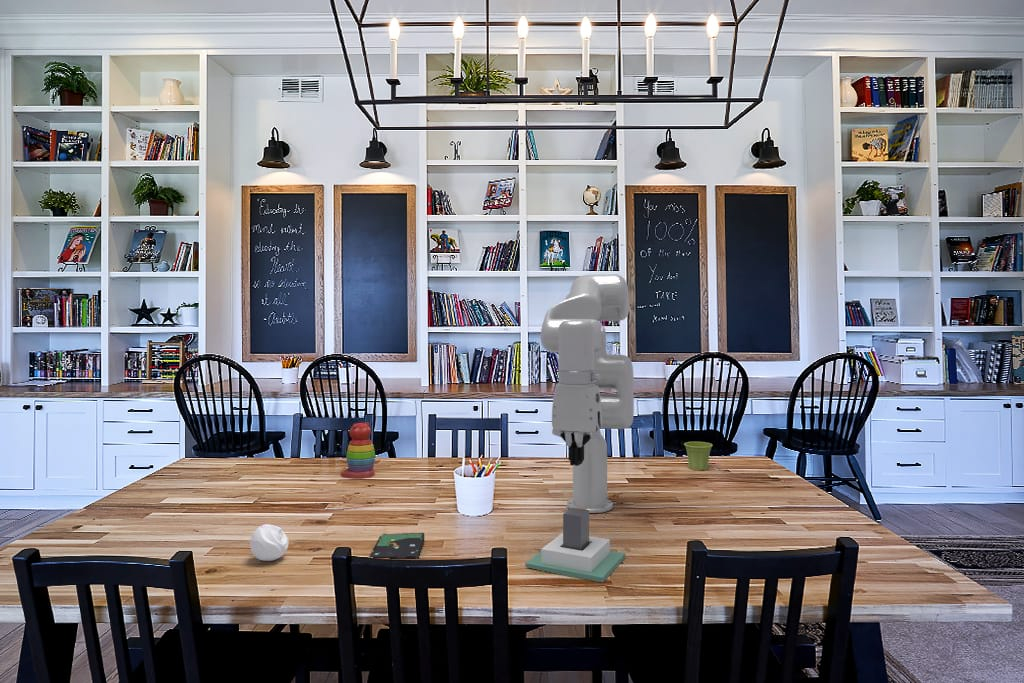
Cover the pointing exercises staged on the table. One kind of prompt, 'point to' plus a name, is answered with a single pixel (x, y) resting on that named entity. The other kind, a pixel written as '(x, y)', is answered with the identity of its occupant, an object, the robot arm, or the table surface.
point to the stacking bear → (360, 453)
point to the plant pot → (698, 455)
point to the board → (581, 574)
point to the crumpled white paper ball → (268, 542)
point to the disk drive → (398, 546)
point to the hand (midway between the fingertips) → (576, 463)
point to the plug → (576, 528)
